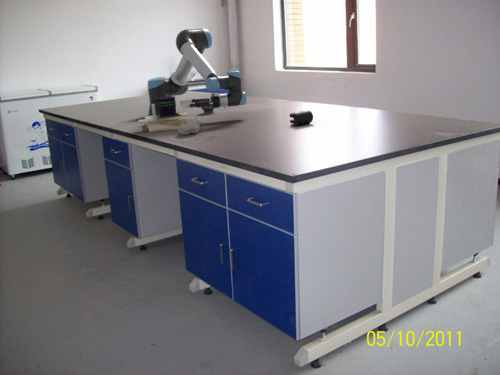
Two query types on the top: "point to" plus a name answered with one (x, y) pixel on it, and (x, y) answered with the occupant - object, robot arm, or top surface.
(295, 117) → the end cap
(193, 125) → the fossil replica
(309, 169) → the top surface
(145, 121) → the cover
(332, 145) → the top surface
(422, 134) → the top surface
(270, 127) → the top surface
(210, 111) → the mortar and pestle
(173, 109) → the dark blue barrel
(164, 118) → the puzzle board
